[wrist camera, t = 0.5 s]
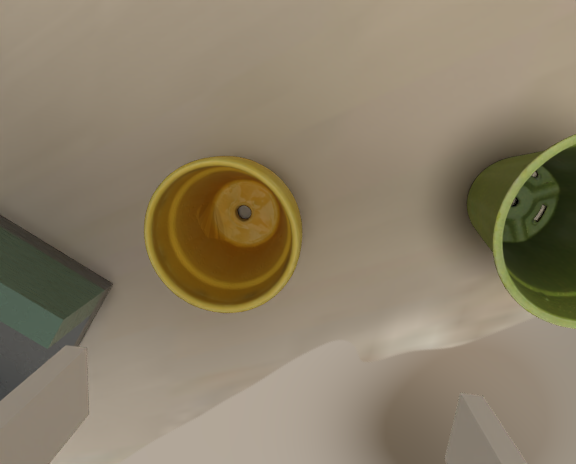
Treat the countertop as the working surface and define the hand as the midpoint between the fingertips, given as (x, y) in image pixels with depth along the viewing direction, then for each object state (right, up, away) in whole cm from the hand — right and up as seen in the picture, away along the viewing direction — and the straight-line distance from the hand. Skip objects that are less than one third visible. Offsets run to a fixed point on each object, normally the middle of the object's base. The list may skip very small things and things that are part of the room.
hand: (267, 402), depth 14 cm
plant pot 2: (+19, +9, +19) cm, 28 cm away
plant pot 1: (-3, +8, +21) cm, 22 cm away
